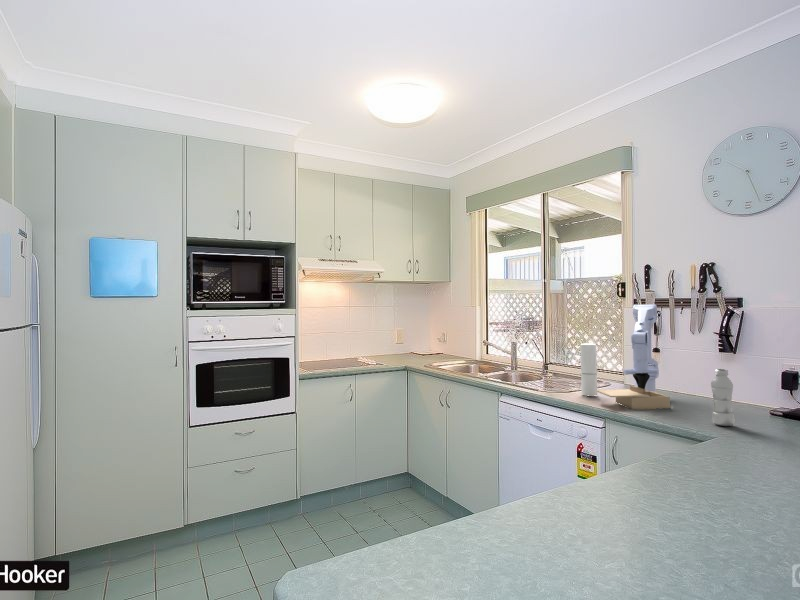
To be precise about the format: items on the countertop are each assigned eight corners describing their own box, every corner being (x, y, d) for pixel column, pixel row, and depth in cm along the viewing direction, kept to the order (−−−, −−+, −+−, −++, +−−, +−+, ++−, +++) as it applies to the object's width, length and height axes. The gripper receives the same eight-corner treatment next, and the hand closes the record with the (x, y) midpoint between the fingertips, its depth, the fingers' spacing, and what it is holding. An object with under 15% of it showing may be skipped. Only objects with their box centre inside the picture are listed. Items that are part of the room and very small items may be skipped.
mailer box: (615, 402, 205) (615, 391, 205) (650, 401, 205) (650, 390, 205) (632, 409, 191) (631, 397, 191) (669, 408, 191) (669, 396, 191)
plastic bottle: (738, 428, 159) (736, 371, 160) (717, 427, 161) (715, 370, 161) (729, 423, 166) (727, 368, 166) (708, 423, 167) (707, 368, 167)
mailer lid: (595, 391, 205) (595, 385, 205) (631, 390, 205) (630, 384, 205) (611, 397, 191) (610, 391, 191) (648, 396, 191) (648, 390, 191)
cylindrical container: (594, 394, 226) (593, 343, 226) (599, 396, 219) (598, 344, 219) (579, 394, 226) (578, 343, 227) (584, 396, 219) (582, 344, 220)
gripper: (629, 360, 194) (629, 392, 194) (662, 360, 194) (663, 392, 194) (620, 359, 201) (621, 389, 201) (653, 358, 201) (653, 389, 201)
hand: (641, 390), depth 198 cm, fingers closed
